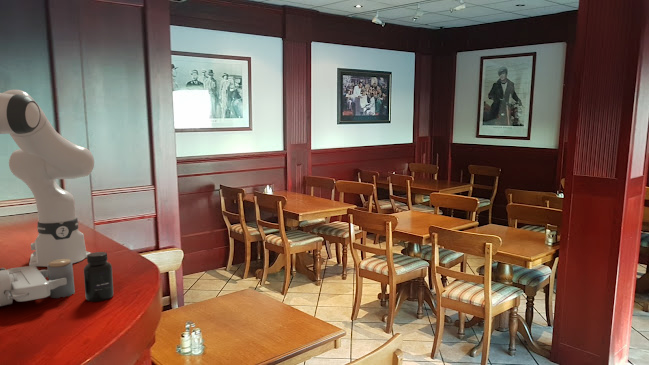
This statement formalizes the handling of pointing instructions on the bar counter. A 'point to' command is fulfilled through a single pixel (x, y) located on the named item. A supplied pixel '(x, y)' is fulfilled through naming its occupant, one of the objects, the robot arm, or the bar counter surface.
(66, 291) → the sugar jar
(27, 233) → the bar counter surface
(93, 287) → the supplement bottle
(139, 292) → the bar counter surface
